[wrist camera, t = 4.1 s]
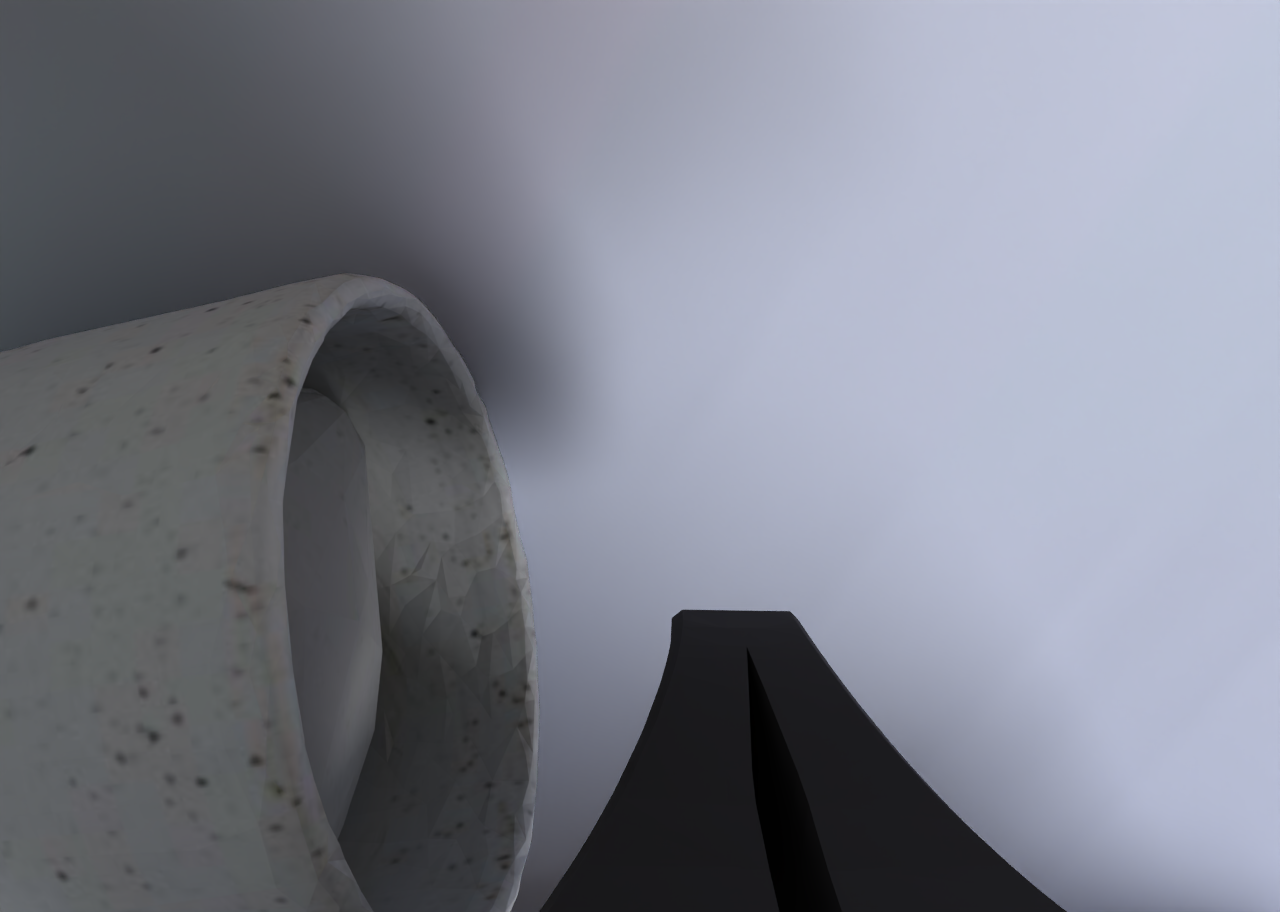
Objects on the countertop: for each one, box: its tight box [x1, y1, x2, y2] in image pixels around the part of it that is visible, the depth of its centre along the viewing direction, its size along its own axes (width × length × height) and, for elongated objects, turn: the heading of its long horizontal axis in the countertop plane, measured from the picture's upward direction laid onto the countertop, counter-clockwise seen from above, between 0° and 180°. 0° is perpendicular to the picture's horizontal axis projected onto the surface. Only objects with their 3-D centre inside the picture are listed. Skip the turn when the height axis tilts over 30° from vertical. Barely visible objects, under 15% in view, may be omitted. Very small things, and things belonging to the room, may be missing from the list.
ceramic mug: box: [0, 273, 540, 912], centre depth 12 cm, size 11×8×8 cm
